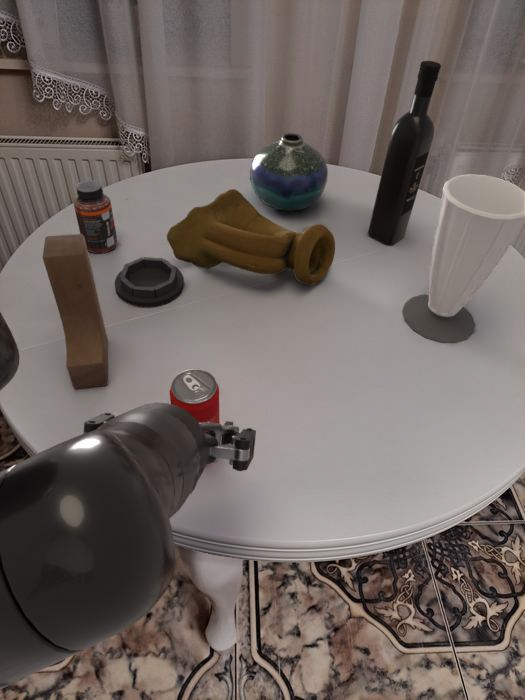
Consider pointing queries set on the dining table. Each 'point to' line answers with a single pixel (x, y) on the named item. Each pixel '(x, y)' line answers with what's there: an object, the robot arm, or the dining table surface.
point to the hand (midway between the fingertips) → (186, 427)
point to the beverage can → (196, 395)
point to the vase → (288, 173)
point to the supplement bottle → (95, 217)
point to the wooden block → (78, 309)
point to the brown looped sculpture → (250, 241)
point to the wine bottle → (405, 162)
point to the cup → (465, 252)
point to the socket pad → (149, 282)
